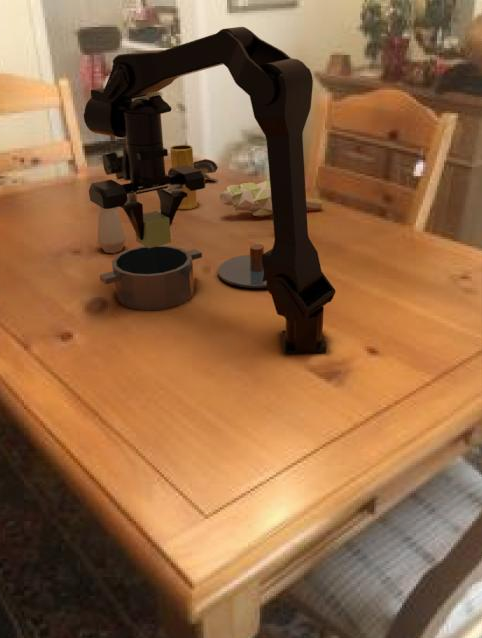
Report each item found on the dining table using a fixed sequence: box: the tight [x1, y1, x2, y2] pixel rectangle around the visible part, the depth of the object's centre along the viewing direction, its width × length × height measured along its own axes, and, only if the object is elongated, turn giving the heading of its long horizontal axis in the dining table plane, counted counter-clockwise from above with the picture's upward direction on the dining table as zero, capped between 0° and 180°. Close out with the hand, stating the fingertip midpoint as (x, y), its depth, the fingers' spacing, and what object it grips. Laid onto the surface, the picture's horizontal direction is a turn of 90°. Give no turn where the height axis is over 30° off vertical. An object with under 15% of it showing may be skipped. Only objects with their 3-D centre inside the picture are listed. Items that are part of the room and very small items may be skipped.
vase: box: [169, 144, 199, 211], centre depth 152 cm, size 6×6×14 cm
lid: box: [217, 243, 267, 289], centre depth 118 cm, size 15×15×6 cm
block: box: [135, 210, 172, 248], centre depth 106 cm, size 4×4×4 cm
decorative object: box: [219, 179, 323, 218], centre depth 147 cm, size 9×10×25 cm
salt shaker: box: [97, 206, 126, 254], centre depth 128 cm, size 6×6×13 cm
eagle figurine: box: [193, 158, 219, 182], centre depth 171 cm, size 8×7×9 cm
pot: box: [99, 244, 203, 311], centre depth 112 cm, size 14×19×6 cm
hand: (153, 236), depth 106 cm, fingers closed on block, 4 cm apart
